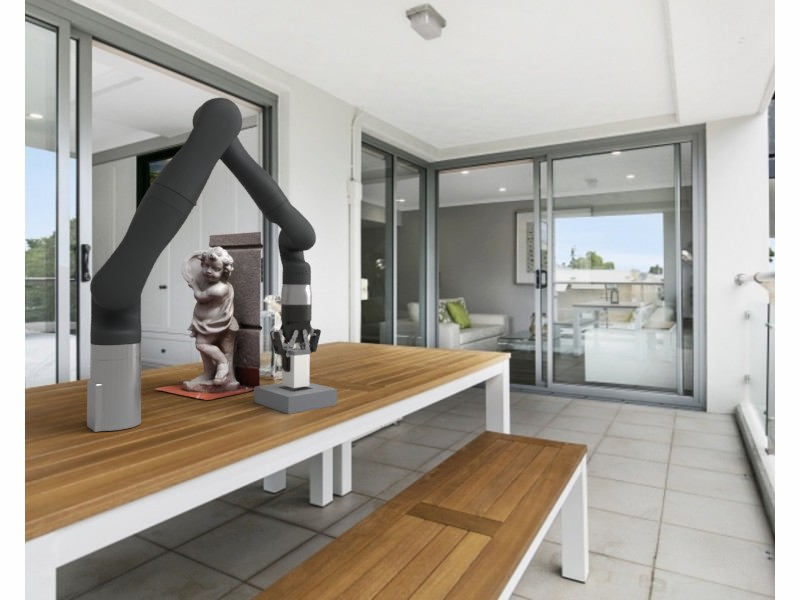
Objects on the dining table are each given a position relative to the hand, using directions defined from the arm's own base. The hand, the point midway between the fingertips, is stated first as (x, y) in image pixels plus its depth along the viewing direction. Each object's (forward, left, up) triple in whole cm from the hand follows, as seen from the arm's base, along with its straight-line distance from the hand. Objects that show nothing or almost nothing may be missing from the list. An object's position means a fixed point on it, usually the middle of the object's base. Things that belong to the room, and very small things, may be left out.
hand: (295, 370), depth 127 cm
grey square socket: (0, 0, -9) cm, 9 cm away
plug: (0, 0, -4) cm, 4 cm away
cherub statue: (-9, +30, -9) cm, 33 cm away
